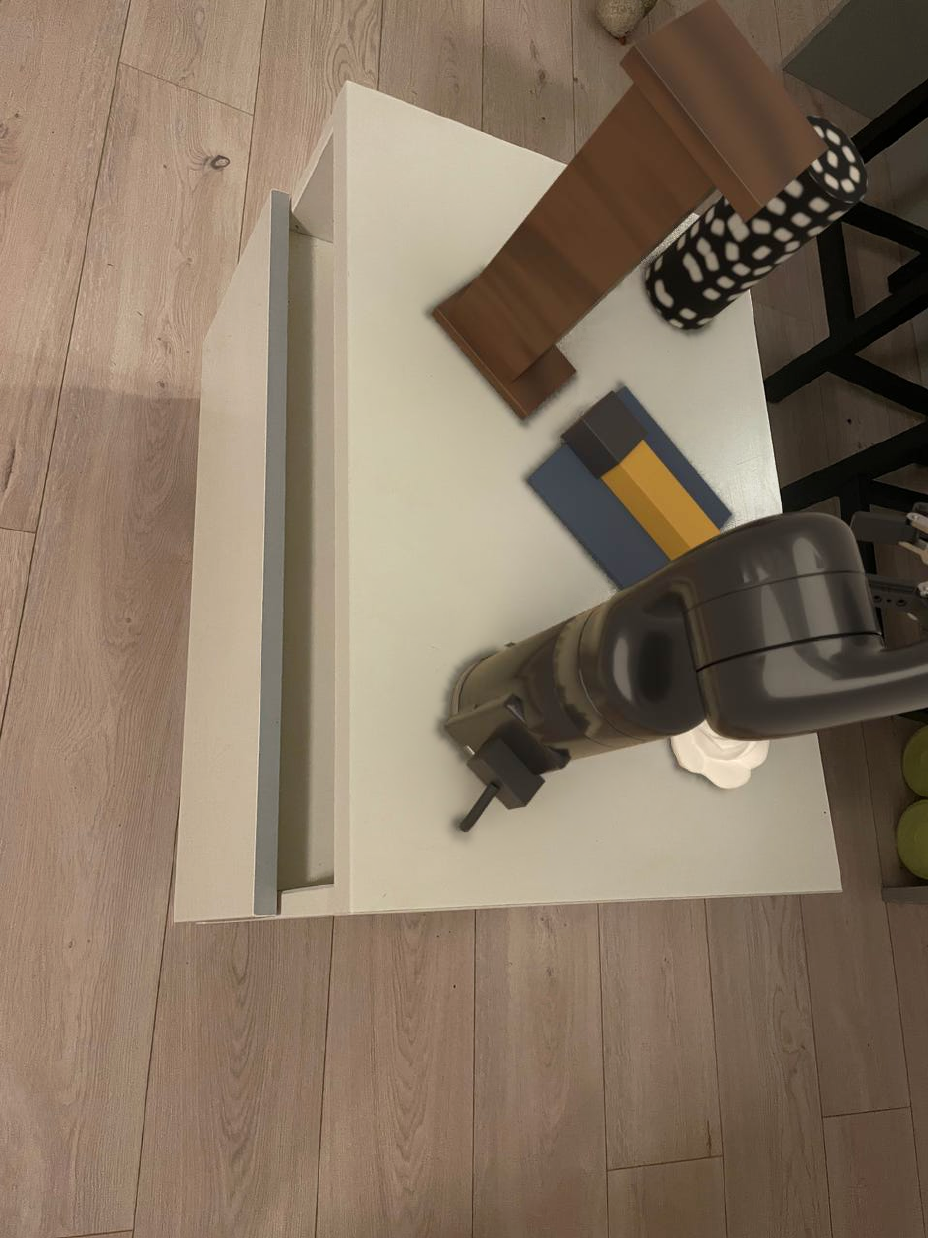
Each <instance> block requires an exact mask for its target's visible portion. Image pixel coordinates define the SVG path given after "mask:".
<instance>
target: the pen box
mask: <svg viewBox="0 0 928 1238" xmlns="http://www.w3.org/2000/svg"><path fill="white" fill-rule="evenodd" d="M616 394H617V393H615V391H614V390H610V391H609V392H608V393H607V394H606V395H604V396H603V397H602V398H601V399H599V400H598V401H597V402H596V403H594V404H593V405H591V406H590V407H589V408H588V409H587V410H586V411H585V412H584V413H583V414H582V415H581V416H580V417H578V419H576V421H574V423H572V424H571V425H570V426H569V427H568V428H567V429H566V430H565V431H563V433H562V434H561V435H560V438H561V439H562V440H563V442H564V444H565V443H566V444H567V445H568V446H569V447H570V448H571V450H572V451H573V452H574V453H575V454H576V456H577V457H578V458H579V459H580V460H581V461H582V463H583V464H584V465H585V466H586V467H587V468H588V470H589V471H590V472H591V473H592V474H593V475H594V477H595V478H596V479H598V478H599V477H601V478H602V480H603V481H604V482H605V483H606V484H607V485H608V487H609V488H610V489H611V490H612V491H613V493H614V494H615V495H616V496H617V497H618V498H619V500H620V501H621V502H622V503H623V504H624V505H625V507H626V508H627V509H628V510H629V511H630V513H631V514H632V515H633V516H634V517H635V518H636V520H637V521H638V522H639V523H640V524H641V525H642V527H643V528H644V529H645V530H646V531H647V533H648V534H649V535H650V536H651V537H652V538H653V540H654V541H655V542H656V543H657V544H658V545H659V547H660V548H661V549H662V550H663V551H664V553H665V554H666V555H667V556H668V557H669V558H670V560H671V561H672V560H673V559H675V558H677V557H678V556H680V555H682V554H683V553H685V552H687V551H688V550H690V549H692V548H694V547H695V546H697V545H699V544H701V543H703V542H705V541H706V540H708V539H710V538H712V537H714V536H716V535H719V534H721V533H722V532H721V531H720V530H718V529H717V527H716V526H715V525H714V524H713V523H712V521H711V520H710V519H709V518H708V517H707V515H706V514H705V513H704V512H703V511H702V509H701V508H700V507H699V506H698V505H697V503H696V502H695V501H694V500H693V499H692V498H691V496H690V495H689V494H688V493H687V492H686V490H685V489H684V488H683V487H682V486H681V484H680V483H679V482H678V481H677V480H676V478H675V477H674V476H673V475H672V474H671V472H670V471H669V470H668V469H667V468H666V466H665V465H664V464H663V463H662V462H661V461H660V459H659V458H658V457H657V456H656V455H655V453H654V452H653V451H652V450H651V449H650V447H649V446H648V445H647V444H646V443H645V441H644V440H643V439H644V438H645V437H646V436H647V435H648V432H647V431H646V430H645V429H644V427H643V426H642V425H641V424H640V423H639V421H638V420H637V419H636V418H635V417H634V415H633V414H632V413H631V412H630V411H629V409H628V408H627V407H626V406H625V405H624V403H623V402H622V401H621V400H620V399H619V397H618V396H617V395H616Z"/></svg>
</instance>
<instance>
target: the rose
mask: <svg viewBox="0 0 928 1238" xmlns="http://www.w3.org/2000/svg"><path fill="white" fill-rule="evenodd" d="M770 743H771V740H765V741H737V740H731V739H726V738H724V737H721V736H719V735H718V734H716V733H714V732H713V731H712V730H711V729H710V727H709V725H708V723H707V720H705V721H704V722H702V723H701V724H700V725H699V726H697V727H695V728H694V729H692V730H690V731H688V732H686V733H683V734H680V735H677V736H673V737H670V744H671V749H672V751H673V753H674V755H675V757H676V760H677V762H678V764H679V766H680V767H681V768H683V769H685V770H687V771H689V772H691V773H694V774H699V775H702V776H704V777H705V778H706V779H708V780H709V781H710V782H711V783H713V784H714V785H715V786H716V787H718V788H721V789H725V790H733V789H736V788H739V787H742V786H744V785H745V784H746V783H747V782H749V780H750V779H751V776H752V769H755V768H757V767H760V766H761V765H763V763H764V762H765V761H766V759H767V756H768V754H769V748H770Z"/></svg>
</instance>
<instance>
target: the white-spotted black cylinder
mask: <svg viewBox="0 0 928 1238" xmlns="http://www.w3.org/2000/svg"><path fill="white" fill-rule="evenodd" d="M805 117H806V118H807V120H808V121H809V122H810V123H811V125H812V126H813V127H814V129H815V130H816V131H817V133H818V134H819V135H820V136H821V138H822V139H823V140H824V142H825V143H826V144H827V146H828V147H829V148H828V149H827V150H826V151H825V152H824V153H823V154H822V155H821V156H819V157H818V158H817V159H816V160H815V161H814V162H813V163H812V164H811V165H810V166H808V167H807V168H806V169H805V170H804V171H803V172H802V173H801V174H800V175H798V176H797V177H796V178H795V179H794V180H793V181H792V182H791V183H790V184H789V185H787V186H786V187H785V188H784V189H783V190H782V191H781V192H780V193H779V194H777V195H776V196H775V197H774V198H773V199H772V200H771V201H770V202H769V203H768V204H766V205H765V206H764V207H763V208H762V209H761V210H760V211H759V212H757V213H756V214H755V215H754V216H753V217H752V218H751V219H750V220H748V221H747V222H746V223H745V222H744V221H743V220H742V219H741V217H740V216H739V215H738V214H737V212H736V211H735V210H734V209H733V207H732V206H731V205H730V203H729V202H728V201H727V200H726V198H725V197H724V196H723V195H722V194H721V196H719V198H718V199H717V200H715V201H714V202H713V203H712V204H711V205H710V206H709V207H708V208H707V209H706V210H705V211H704V212H703V213H702V214H701V215H700V216H699V217H698V218H696V220H694V222H692V224H690V225H689V226H688V227H687V228H686V229H685V230H684V231H683V232H681V234H680V235H679V236H678V237H677V238H675V240H673V241H672V242H671V243H670V244H669V245H668V246H667V247H666V248H665V249H664V250H663V251H662V252H661V253H659V255H658V256H657V257H655V258H654V259H653V260H652V261H651V262H650V263H649V265H648V267H647V268H646V271H645V287H646V291H647V295H648V298H649V299H650V301H651V303H652V305H653V306H654V308H655V309H656V312H658V313H659V315H661V317H662V318H664V319H665V321H667V322H668V323H670V324H672V326H675V327H676V328H679V329H681V330H685V331H696V330H699V329H701V328H702V327H704V326H705V325H706V324H708V323H709V322H710V321H711V320H713V319H714V318H715V317H717V316H718V315H719V314H720V313H721V312H722V311H724V310H725V309H727V308H728V307H729V306H730V305H731V304H732V303H734V302H735V301H737V300H738V299H739V298H740V297H742V296H743V294H745V293H747V292H748V291H749V290H750V289H751V288H753V287H754V286H756V285H757V284H758V283H759V282H760V281H762V280H763V279H764V278H765V277H766V276H768V275H769V274H770V273H771V272H773V271H774V270H776V268H778V267H779V266H780V265H782V264H783V263H784V262H785V261H786V260H788V259H789V258H790V257H792V256H793V255H794V254H796V252H798V251H799V250H801V249H802V248H803V247H804V246H805V245H807V244H808V243H809V242H811V241H812V240H813V239H815V237H817V236H818V235H819V234H821V233H822V232H823V231H824V230H825V229H827V228H828V227H829V226H830V225H832V224H833V223H835V222H836V221H838V219H839V218H840V217H842V216H843V215H845V213H847V212H848V211H849V210H851V209H852V208H853V207H854V206H856V205H857V204H858V203H860V202H861V201H862V200H863V199H864V197H865V196H866V194H867V192H868V187H869V176H868V171H867V168H866V165H865V163H864V160H863V158H862V156H861V153H860V152H859V150H858V149H857V147H856V145H855V143H853V141H852V139H850V137H849V136H848V135H847V134H846V133H845V132H844V131H843V130H842V129H841V128H840V127H839V126H837V125H836V124H835V123H833V122H832V121H830V120H829V119H826V118H824V117H822V116H817V115H807V116H805Z"/></svg>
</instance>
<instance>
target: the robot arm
mask: <svg viewBox="0 0 928 1238" xmlns="http://www.w3.org/2000/svg"><path fill="white" fill-rule="evenodd" d="M851 517H852V518H851V522H850V524H848V523H846V522H845V521H844V520H842V519H841V518H839V517H838V516H835V515H833V514H830V513H826V512H822V511H814V510H798V511H797V510H795V511H787V512H781V513H776V514H771V515H768V516H767V515H766V516H764V517H763V516H762V517H759V518H757V519H753V520H750V521H747V522H745V523H741V524H739V525H737V526H734V527H733V528H729V529H728V530H727V529H726V530H724V531H723V532H721V534H719V535H716V536H714V537H712V538H710V539H708V540H706V541H705V542H703V543H701V544H699V545H697V546H695V547H694V548H692V549H690V550H688V551H687V552H685V553H683V554H682V555H680V556H678V557H677V558H675V559H673V560H672V561H670V562H669V563H667V564H665V565H664V566H662V567H660V568H659V569H657V570H655V571H654V572H652V573H650V574H648V575H647V576H645V577H643V578H641V579H640V580H638V581H636V582H634V583H632V584H630V585H628V586H626V587H624V588H623V589H620V590H618V591H617V592H615V593H613V595H612V596H610V598H608V599H607V600H605V601H603V602H601V603H599V604H597V605H595V606H592V607H591V608H588V609H586V610H584V611H582V612H580V613H578V614H576V615H574V616H572V617H569V618H568V619H566V620H563V621H561V622H558V623H557V624H555V625H553V626H551V627H548V628H546V629H544V630H542V631H540V632H538V633H536V634H534V635H531V636H530V637H528V638H526V639H524V640H521V641H520V642H518V643H516V642H512V641H510V642H508V643H506V644H503V647H506V648H505V649H503V650H501V651H499V652H497V653H495V654H492V655H489V656H486V657H484V658H482V659H480V660H477V661H476V662H474V663H473V664H471V665H470V666H469V667H467V669H466V670H464V672H463V673H462V674H461V676H460V677H459V679H458V681H457V682H456V685H455V687H454V690H453V693H452V698H451V704H450V714H451V715H450V716H449V718H448V719H447V721H446V722H445V723H444V725H443V728H444V730H445V731H446V733H448V735H450V736H451V738H452V739H453V740H454V742H456V743H457V745H458V746H460V747H461V749H462V750H463V751H464V753H465V755H467V756H468V758H469V760H467V762H466V763H465V765H466V766H467V767H468V769H470V770H471V772H473V773H474V775H476V777H477V778H478V779H479V780H480V781H481V782H482V784H483V785H484V786H485V787H486V788H485V789H484V790H483V792H482V793H481V795H480V796H479V797H478V799H477V801H475V803H474V805H473V806H472V808H471V809H470V810H469V811H468V813H467V815H466V816H465V817H464V819H463V820H462V821H461V822H460V824H459V829H460V831H461V832H463V833H468V832H470V830H471V829H472V828H473V827H475V825H476V823H477V822H478V820H479V819H480V817H481V816H482V815H483V814H484V812H485V811H486V810H487V808H488V807H489V806H490V804H491V802H492V801H493V800H494V798H496V799H498V801H499V802H500V803H501V804H502V805H503V806H504V807H505V809H506V810H508V811H510V810H516V809H521V808H526V807H527V806H528V804H529V803H530V802H531V800H532V799H533V798H534V797H535V795H536V794H537V793H538V792H539V791H540V790H541V788H542V787H543V785H544V784H545V783H546V780H545V779H544V777H542V775H544V774H548V773H553V772H558V771H562V770H563V769H565V768H566V767H567V766H568V764H569V763H570V762H573V761H577V760H582V759H585V758H589V757H593V756H597V755H601V754H605V753H609V752H614V751H618V750H622V749H626V748H630V747H635V746H639V745H644V744H648V743H651V742H656V741H660V740H661V741H662V740H664V739H665V740H666V739H669V738H671V737H673V736H677V735H680V734H683V733H686V732H688V731H690V730H692V729H694V728H695V727H697V726H699V725H700V724H701V723H702V722H704V721H705V720H707V723H708V725H709V727H710V729H711V730H712V731H713V732H714V733H716V734H718V735H719V736H721V737H724V738H726V739H731V740H737V741H765V740H770V741H777V740H782V739H789V738H795V737H801V736H806V735H811V734H817V733H821V732H822V733H823V732H826V731H830V730H834V729H835V730H836V729H839V728H844V727H848V726H853V725H857V724H862V723H866V722H870V721H874V720H879V719H883V718H887V717H892V716H896V715H900V714H904V713H908V712H913V711H918V710H923V709H926V708H928V580H927V581H923V582H920V583H918V584H917V586H916V583H915V580H914V579H907V578H900V577H893V576H887V575H880V574H874V573H867V572H866V570H865V566H864V562H863V559H862V556H861V552H860V549H859V544H858V541H861V542H867V543H875V544H881V545H888V546H895V547H898V546H899V545H900V546H902V547H903V548H906V549H908V550H910V551H912V552H914V553H916V554H918V555H919V556H920V557H921V560H922V562H923V564H925V565H927V566H928V541H927V542H926V541H924V540H922V538H923V539H928V502H922V501H917V502H914V504H913V506H912V509H911V511H910V512H908V513H907V515H904V516H899V515H891V514H885V513H884V514H883V513H877V512H871V511H870V512H869V511H864V510H863V511H862V510H858V511H855V512H854V513H853V515H852V516H851ZM876 608H878V609H885V610H890V611H895V612H896V611H897V612H903V613H907V616H908V617H909V618H910V619H912V620H914V621H917V622H918V624H920V626H919V633H920V634H921V635H922V636H924V637H925V638H922V639H920V640H916V641H915V642H912V643H909V644H906V645H903V646H899V647H896V648H895V647H894V648H888V647H886V645H885V641H884V638H883V637H882V630H881V626H880V623H879V619H878V615H877V612H876Z"/></svg>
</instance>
